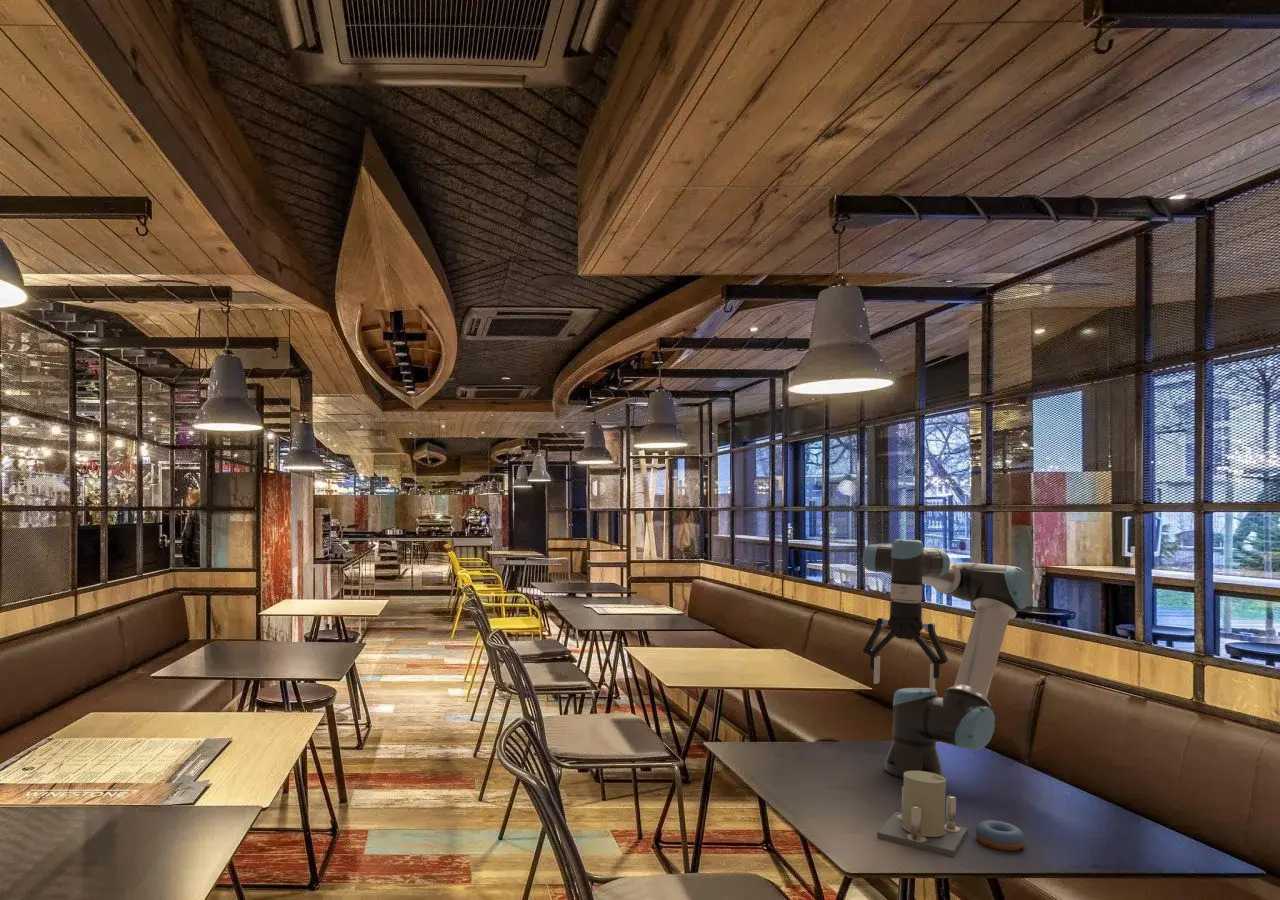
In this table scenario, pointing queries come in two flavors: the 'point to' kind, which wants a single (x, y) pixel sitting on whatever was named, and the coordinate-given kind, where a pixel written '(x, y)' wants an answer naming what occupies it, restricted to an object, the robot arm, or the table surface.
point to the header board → (923, 837)
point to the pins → (917, 817)
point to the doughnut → (1000, 835)
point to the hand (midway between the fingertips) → (903, 687)
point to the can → (925, 801)
